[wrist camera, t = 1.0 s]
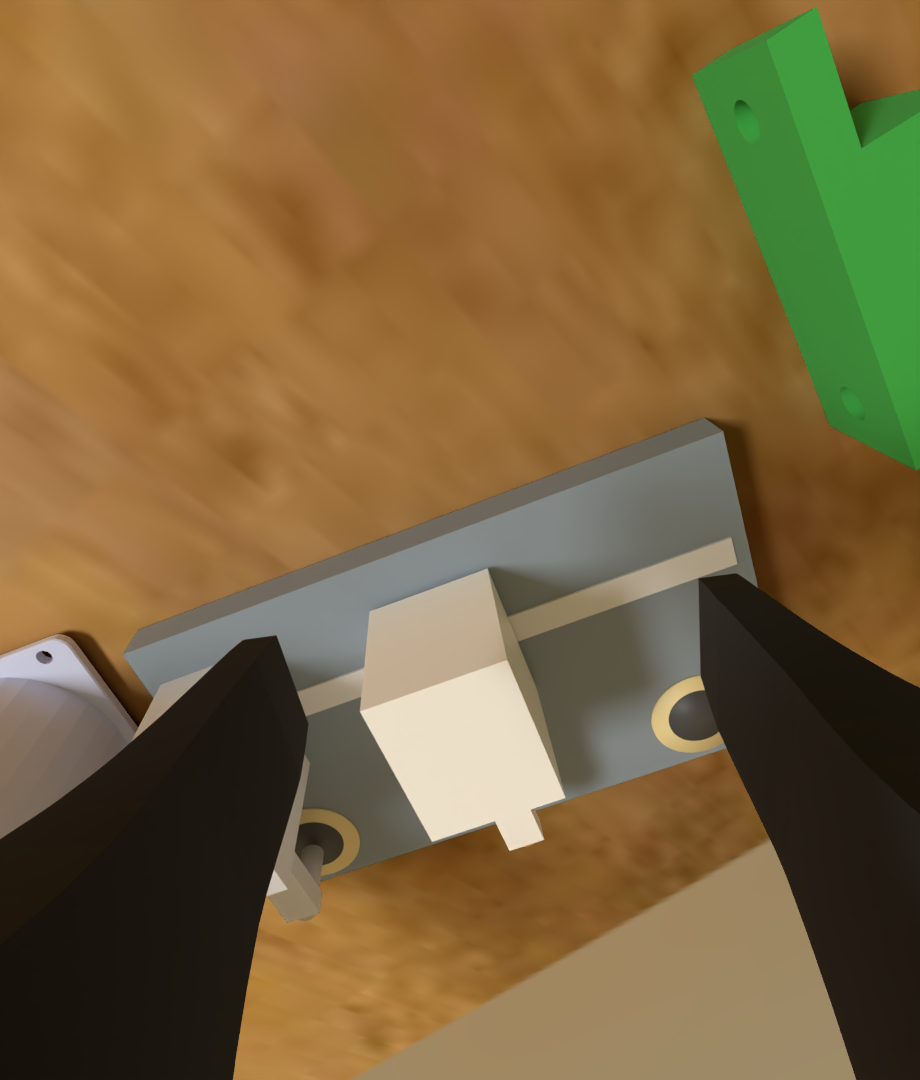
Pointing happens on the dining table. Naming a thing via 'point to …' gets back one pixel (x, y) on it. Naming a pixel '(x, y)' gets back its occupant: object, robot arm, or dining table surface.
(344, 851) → the plate
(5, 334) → the dining table surface
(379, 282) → the dining table surface
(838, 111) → the pipe clamp
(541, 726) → the block
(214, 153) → the dining table surface
